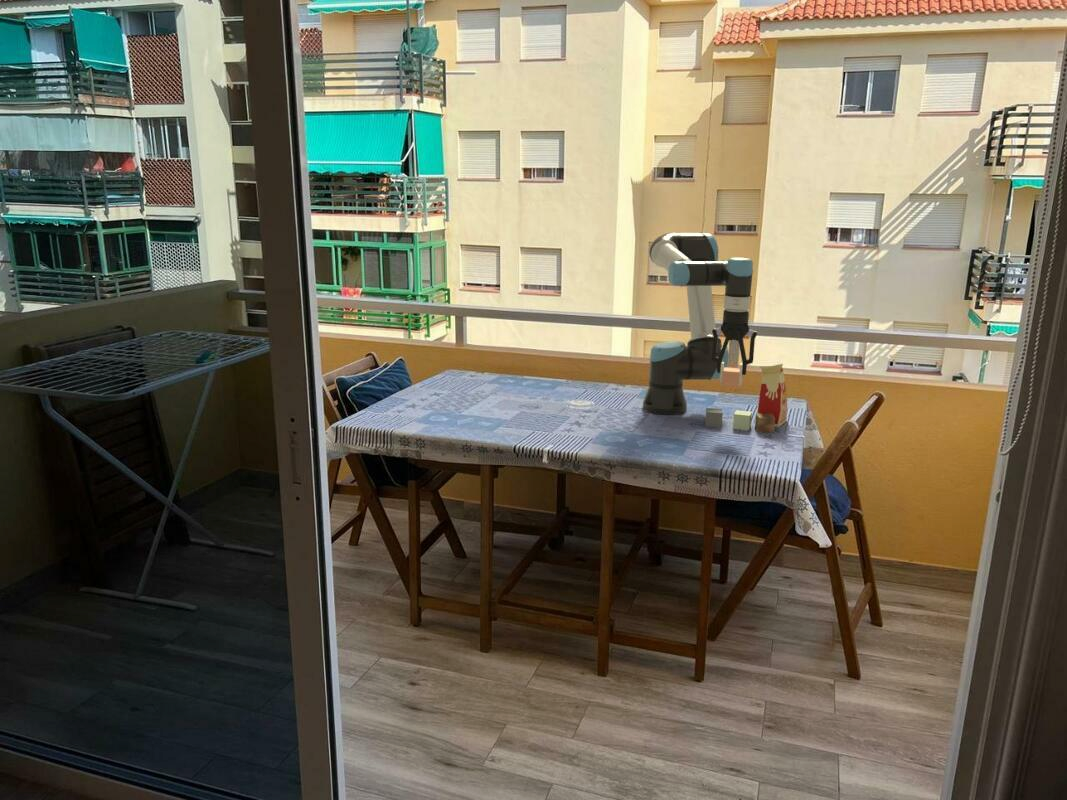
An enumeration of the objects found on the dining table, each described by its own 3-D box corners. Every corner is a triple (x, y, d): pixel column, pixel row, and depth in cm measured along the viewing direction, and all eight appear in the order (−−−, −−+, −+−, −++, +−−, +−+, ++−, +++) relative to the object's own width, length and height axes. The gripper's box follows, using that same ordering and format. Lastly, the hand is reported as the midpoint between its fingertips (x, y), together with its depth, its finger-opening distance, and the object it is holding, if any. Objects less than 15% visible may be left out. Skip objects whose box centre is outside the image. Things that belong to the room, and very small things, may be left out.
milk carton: (786, 420, 259) (792, 361, 253) (779, 427, 251) (785, 367, 246) (759, 416, 263) (764, 358, 258) (751, 423, 255) (756, 363, 250)
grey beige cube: (705, 427, 251) (706, 412, 250) (705, 422, 256) (706, 408, 255) (721, 427, 250) (722, 412, 249) (720, 423, 255) (721, 408, 254)
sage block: (732, 429, 249) (733, 414, 248) (735, 424, 254) (736, 410, 252) (748, 430, 247) (749, 415, 246) (750, 426, 252) (752, 411, 250)
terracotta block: (721, 386, 240) (722, 370, 239) (722, 382, 245) (724, 367, 244) (737, 388, 239) (739, 372, 238) (738, 384, 243) (740, 368, 242)
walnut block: (757, 432, 245) (758, 417, 244) (754, 428, 250) (756, 413, 249) (773, 433, 245) (775, 418, 244) (770, 428, 250) (772, 413, 248)
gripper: (704, 309, 235) (699, 384, 241) (766, 313, 229) (759, 389, 236) (707, 306, 242) (702, 378, 248) (767, 309, 236) (760, 383, 243)
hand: (730, 383), depth 242 cm, fingers closed on terracotta block, 5 cm apart
